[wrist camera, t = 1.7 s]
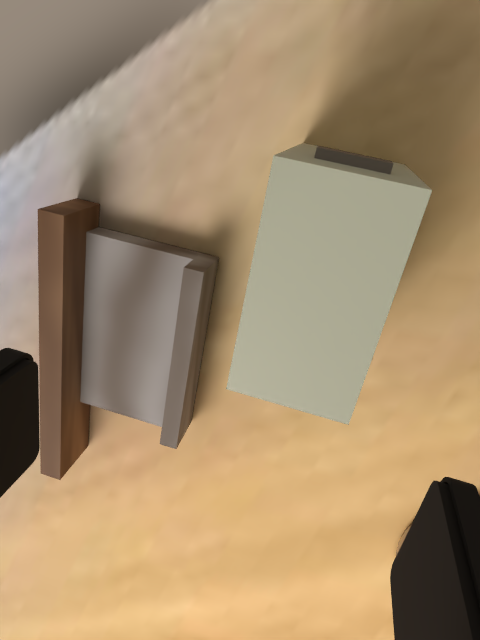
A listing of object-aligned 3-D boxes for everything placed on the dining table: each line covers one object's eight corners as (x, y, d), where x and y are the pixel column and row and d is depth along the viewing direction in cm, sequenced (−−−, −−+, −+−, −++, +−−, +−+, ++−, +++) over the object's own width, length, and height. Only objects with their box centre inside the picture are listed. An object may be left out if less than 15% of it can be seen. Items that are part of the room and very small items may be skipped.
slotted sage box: (407, 156, 24) (436, 177, 15) (351, 329, 29) (348, 424, 20) (305, 135, 25) (276, 143, 16) (265, 307, 29) (226, 389, 20)
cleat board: (222, 234, 28) (203, 250, 24) (181, 476, 37) (163, 514, 33) (76, 198, 29) (37, 209, 26) (70, 440, 38) (40, 473, 34)
